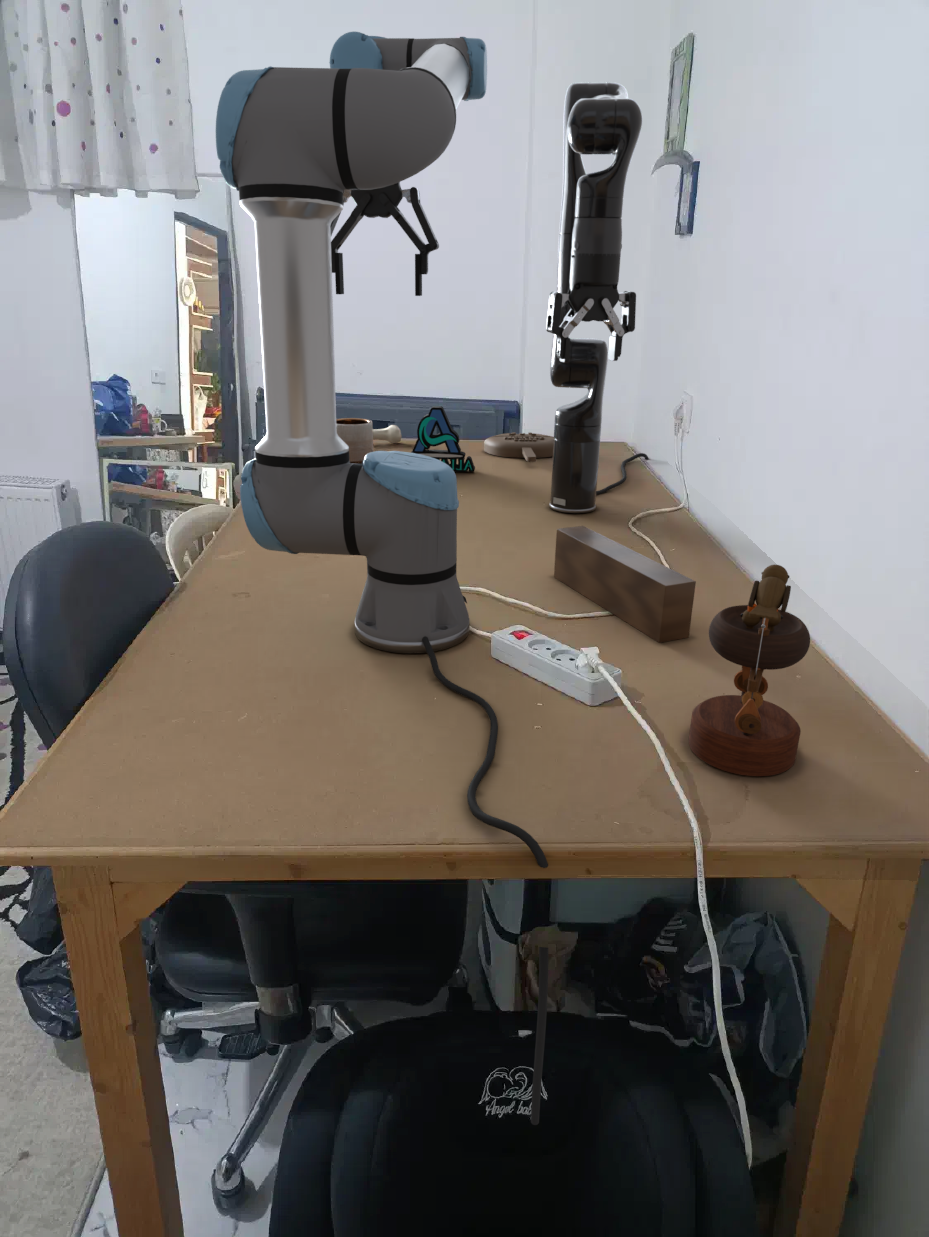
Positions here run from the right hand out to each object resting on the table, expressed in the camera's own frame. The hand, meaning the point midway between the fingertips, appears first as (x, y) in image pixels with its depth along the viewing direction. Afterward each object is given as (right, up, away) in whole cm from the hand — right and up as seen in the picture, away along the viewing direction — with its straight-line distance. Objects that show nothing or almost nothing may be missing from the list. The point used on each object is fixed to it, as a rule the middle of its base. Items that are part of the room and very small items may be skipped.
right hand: (588, 361), depth 135 cm
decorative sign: (-27, -6, +69) cm, 74 cm away
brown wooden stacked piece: (+8, -54, -49) cm, 73 cm away
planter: (-48, -1, +79) cm, 92 cm away
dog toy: (-48, +7, +100) cm, 111 cm away
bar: (+2, -39, -12) cm, 41 cm away
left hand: (-34, +14, +9) cm, 38 cm away
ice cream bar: (-4, +1, +86) cm, 87 cm away
